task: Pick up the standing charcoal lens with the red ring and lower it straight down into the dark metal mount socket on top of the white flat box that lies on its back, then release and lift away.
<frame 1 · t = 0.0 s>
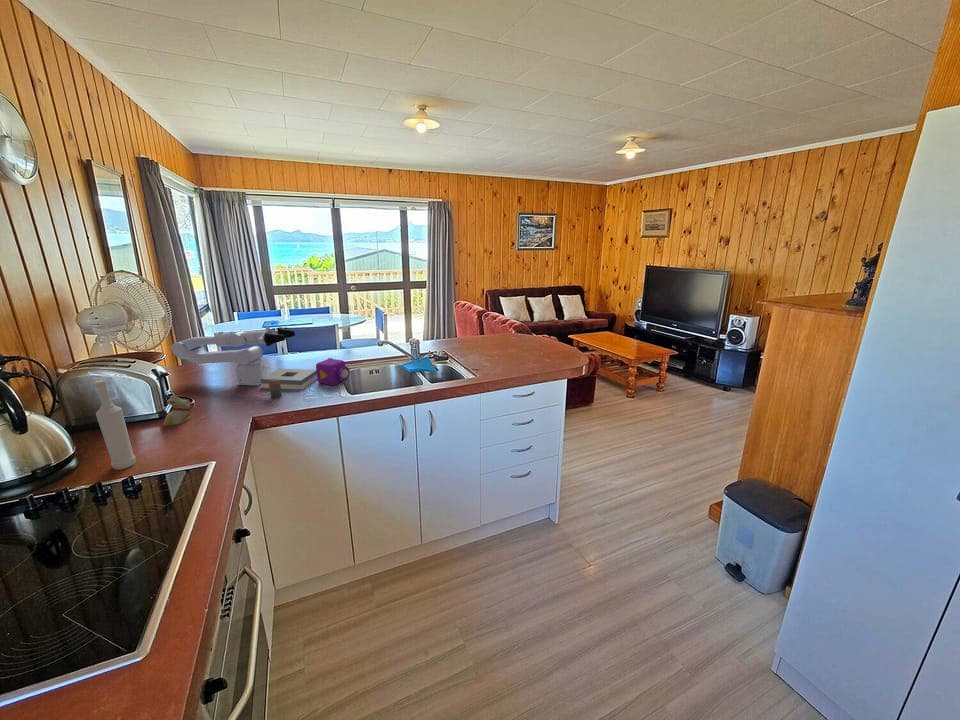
hand: (289, 335, 166), 22 cm above the countertop, tool horizontal, fingers open, 7 cm apart
white flat box: (290, 382, 174), on the countertop
bottle: (124, 465, 111), on the countertop
toy camera: (335, 382, 175), on the countertop
chocolate bunny: (179, 422, 137), on the countertop
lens: (276, 397, 158), on the countertop
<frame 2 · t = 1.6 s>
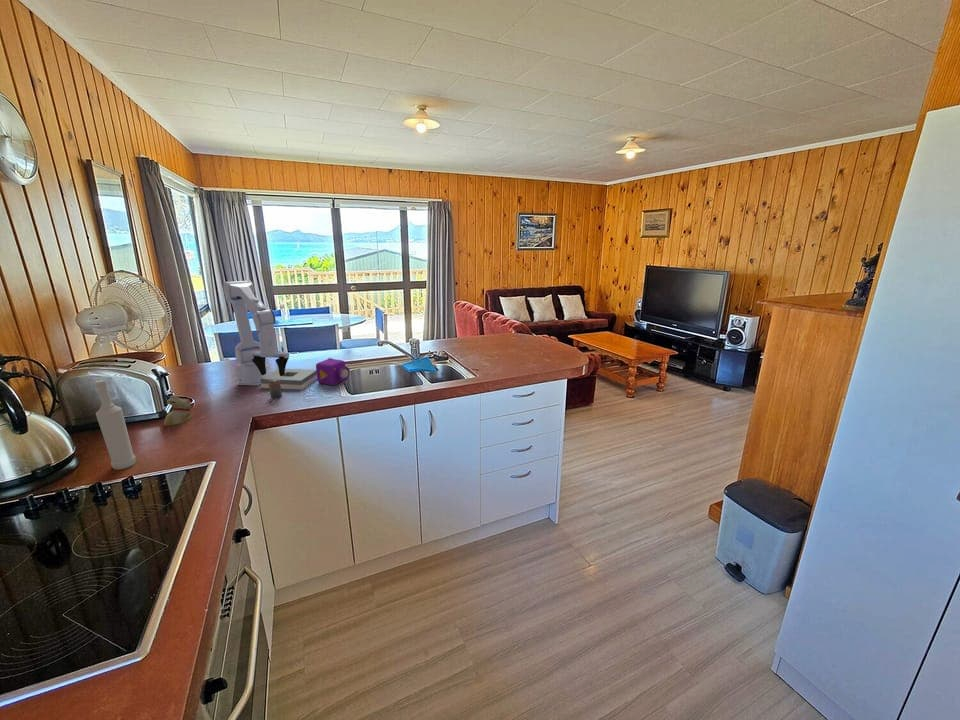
hand: (273, 374, 156), 9 cm above the countertop, tool pointing down, fingers open, 7 cm apart
nothing on the countertop moved.
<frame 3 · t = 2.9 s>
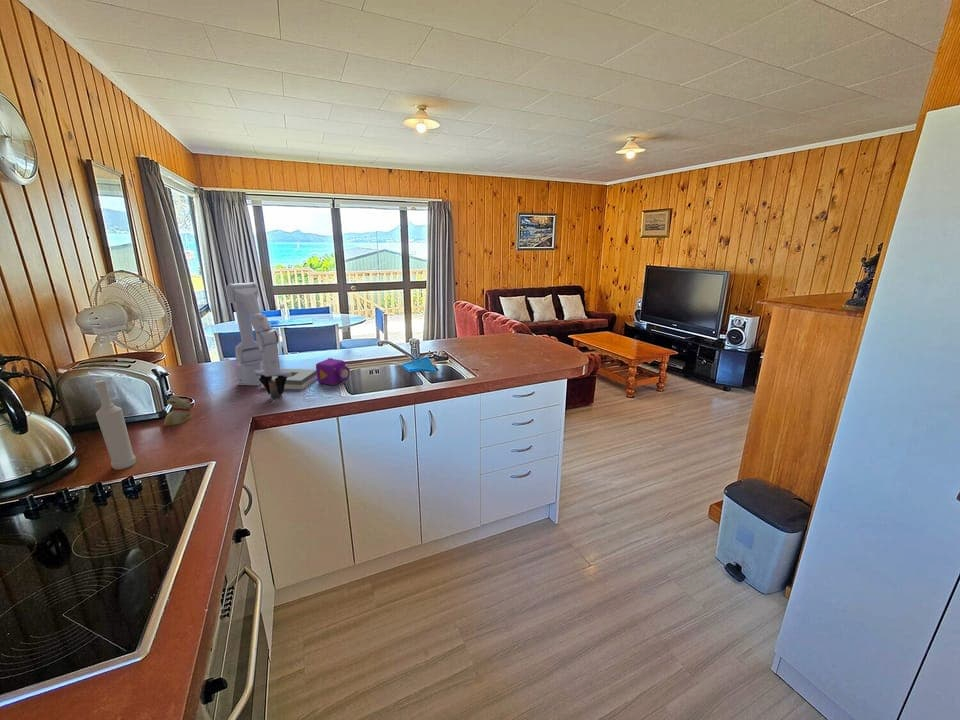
hand: (275, 393, 158), 2 cm above the countertop, tool pointing down, fingers closed on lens, 4 cm apart
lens: (276, 397, 158), on the countertop, touching gripper
everything else where it was.
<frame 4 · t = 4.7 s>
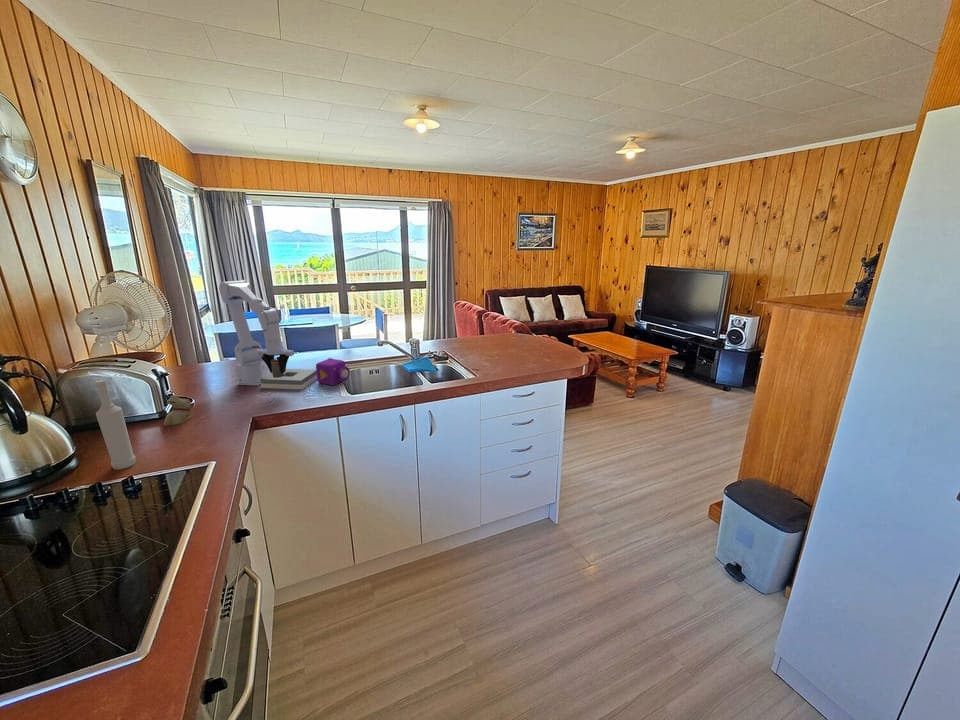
hand: (277, 372, 161), 9 cm above the countertop, tool pointing down, fingers closed on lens, 4 cm apart
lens: (278, 376, 161), point 7 cm above the countertop, touching gripper
everything else where it was.
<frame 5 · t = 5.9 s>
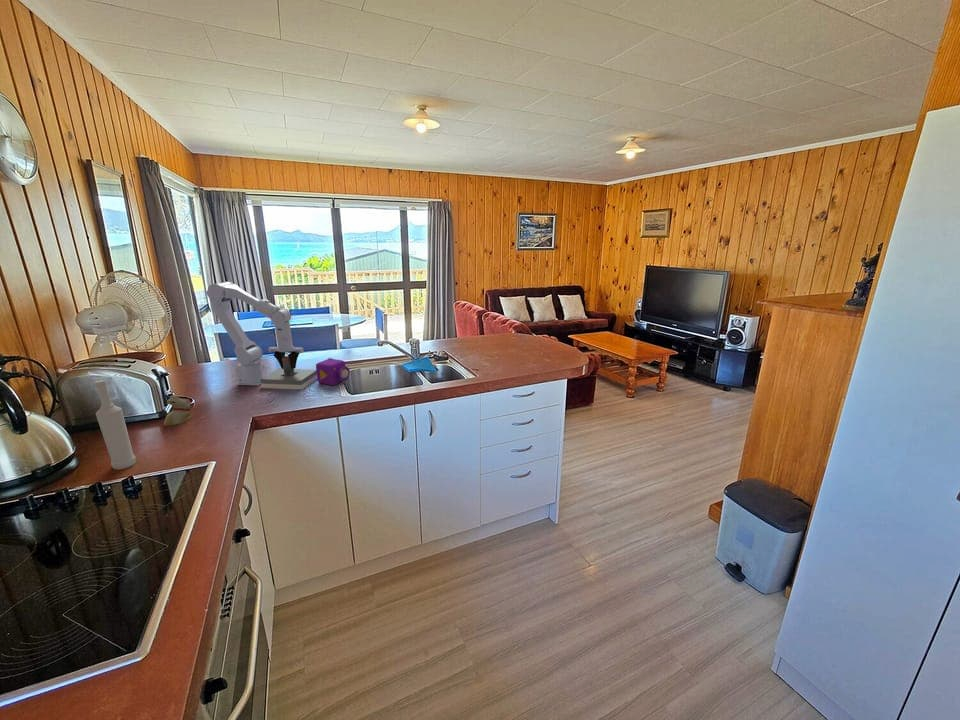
hand: (288, 368, 172), 7 cm above the countertop, tool pointing down, fingers closed on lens, 4 cm apart
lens: (289, 372, 172), point 5 cm above the countertop, touching gripper
everything else where it was.
when the fingers open (5 cm above the countertop, at t = 6.7 s): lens drops 1 cm, resting on white flat box.
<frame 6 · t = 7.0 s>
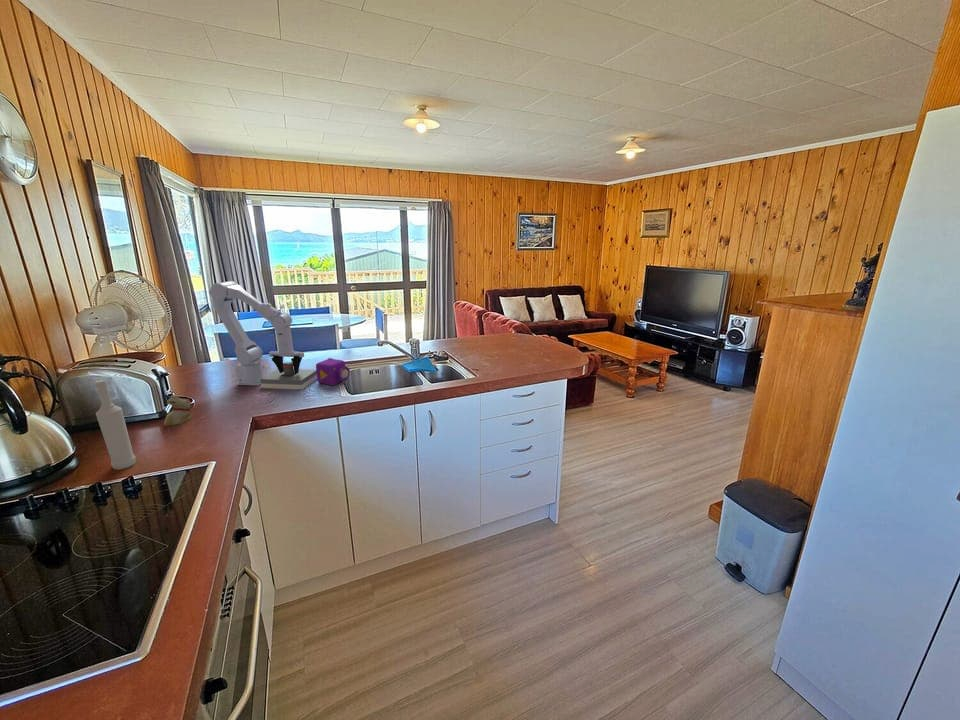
hand: (289, 372, 172), 5 cm above the countertop, tool pointing down, fingers open, 6 cm apart
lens: (289, 378, 173), point 2 cm above the countertop, touching white flat box
everything else where it was.
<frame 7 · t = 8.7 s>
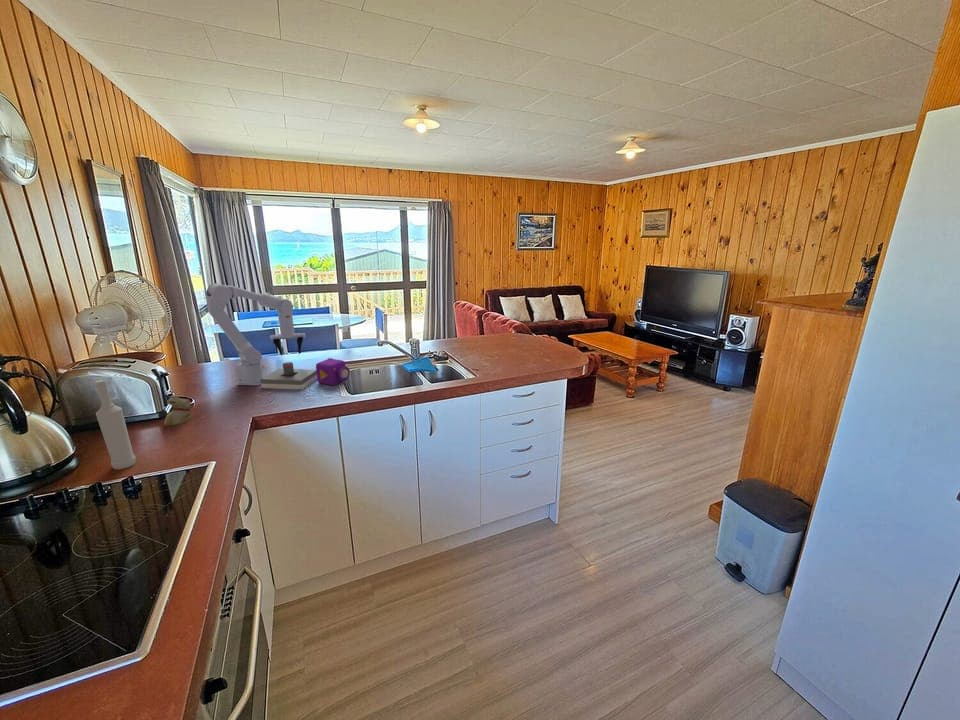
hand: (290, 353, 183), 9 cm above the countertop, tool pointing down, fingers open, 7 cm apart
nothing on the countertop moved.
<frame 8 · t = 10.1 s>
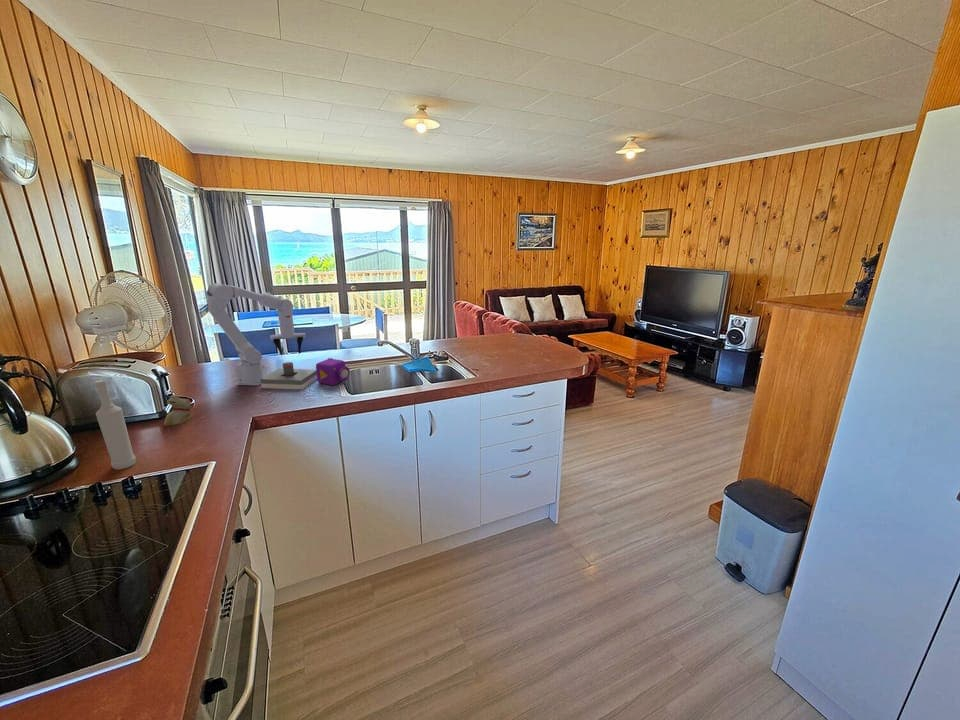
hand: (290, 353, 184), 9 cm above the countertop, tool pointing down, fingers open, 7 cm apart
nothing on the countertop moved.
at the end: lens 0.2 cm off-centre on the white flat box, point 2.0 cm above the white flat box's base; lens tilted 0°; the gripper is holding nothing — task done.
